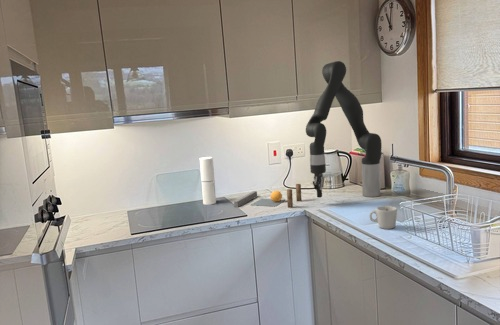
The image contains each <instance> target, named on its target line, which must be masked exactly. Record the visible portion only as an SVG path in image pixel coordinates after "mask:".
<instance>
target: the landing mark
mask: <svg viewBox="0 0 500 325" xmlns="http://www.w3.org/2000/svg"><path fill="white" fill-rule="evenodd" d="M284 201H286V199H281V200H280V201H279V202H274V201H272V199H271V198H259V199H258V200H257V201H255V202H253V203H251V204H250V206H257V207H259V206H260V207H261V206H262V207H273V206H274V207H275V206H276V207H277V206H278V205H280V204H283V202H284Z"/></svg>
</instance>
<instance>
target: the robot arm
mask: <svg viewBox="0 0 500 325" xmlns="http://www.w3.org/2000/svg"><path fill="white" fill-rule="evenodd" d="M321 73H322V76H323V78H324V81H325V82H326V84H327V85H326V88H325V89H324V91H323V92H322V93H321V94H320V97H319V98H318V100H317V103H316V106H315V108H314V112H313V114H312V115H311V116H310V118H309V120H308V122H307V123H306V126H305V133H306V134H305V135H307V137H310V138H314V141H313V142H311V143H310V144H309V164H310V165H309V166H310V174H314V176H313V181H312V185H313V187H314V190H316V197H317V198H322V197H323V188H324V184H325V178H326V177H325V176H324V173H326V172H327V167H326V166H327V165H326V156H325V142H326V139H327V138H326V137H327V127H326V125H325V124H324V123H322V122H323V121H326V120H327V118H328V117H329V113H330V111H331V107H332V104H333V101H334V99H335V98H336V100H337V102H338V104H339V106H340V108H341V110H342V112H343V114H344V116H345V117H346V119H347V121H348V124H349V125H350V127H351V130H352V132H353V134H354V136H355V139H356V141H357V144H358V146H359V147H360V148H361V149H362V150H364V151H365V156H364V157H362V158H361V180H362V181H361V184H362V186H361V187H362V189H361V191H362V196H363V197H368V198H369V197H371V198H375V197H379V196H381V163H380V162H381V158H382V138H381V136H380V135H379V134H377V133H373V132H370V131H369V129H368V128H367V126H366V125H365V122H364V110H363V107H362V105H361V103H360V101H359V99H358V98H357V96H356V95H355V94H354V93H353V92H351V90H349V89H348V88H347V87H346V86H345V85H344V84H343V81H344V79H345V78H346V73H347V67H346V64H345V63H344V62H343V61H341V60H336V61H332V62H329V63H326V64H324V65H323V67H322V70H321Z"/></svg>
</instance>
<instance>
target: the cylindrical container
mask: <svg viewBox="0 0 500 325" xmlns="http://www.w3.org/2000/svg"><path fill="white" fill-rule="evenodd" d="M199 168H200V169H199V170H200V180H201V191H202V192H201V194H202V204H203V205H207V206H208V205H214V204H216V203H217V196H216V194H217V193H216V184H215V182H216V181H215V172H214V171H215V169H214V158H213V157H212V156H204V157H199Z"/></svg>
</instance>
